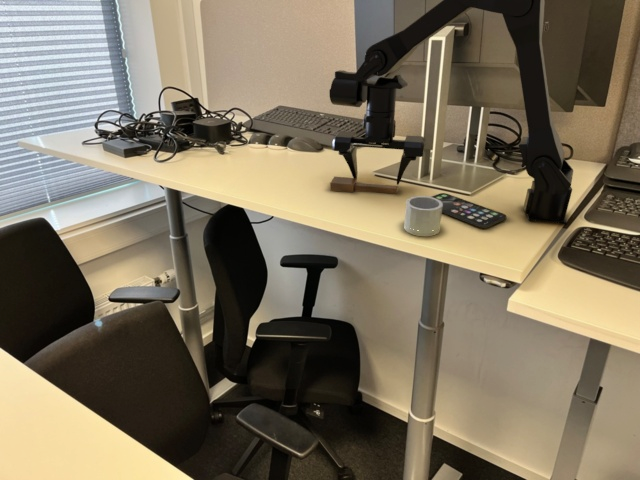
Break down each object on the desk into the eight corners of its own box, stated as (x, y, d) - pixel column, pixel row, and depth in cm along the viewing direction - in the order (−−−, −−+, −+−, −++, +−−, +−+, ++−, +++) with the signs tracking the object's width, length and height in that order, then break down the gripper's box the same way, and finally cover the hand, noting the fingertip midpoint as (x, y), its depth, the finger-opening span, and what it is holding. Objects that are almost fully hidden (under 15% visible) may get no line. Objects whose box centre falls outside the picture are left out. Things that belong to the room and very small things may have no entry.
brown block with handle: (397, 189, 100) (398, 181, 99) (396, 196, 97) (396, 188, 96) (334, 184, 103) (334, 176, 102) (330, 190, 100) (330, 182, 99)
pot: (440, 222, 85) (443, 197, 83) (439, 238, 80) (442, 211, 78) (405, 219, 87) (408, 194, 84) (402, 234, 81) (404, 208, 79)
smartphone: (443, 192, 96) (508, 215, 86) (442, 195, 97) (507, 218, 86) (419, 201, 92) (484, 226, 82) (418, 204, 93) (484, 229, 82)
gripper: (430, 103, 99) (422, 173, 106) (343, 99, 103) (342, 166, 110) (426, 115, 89) (419, 191, 97) (332, 110, 93) (331, 183, 101)
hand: (376, 182), depth 101 cm, fingers open, 9 cm apart
